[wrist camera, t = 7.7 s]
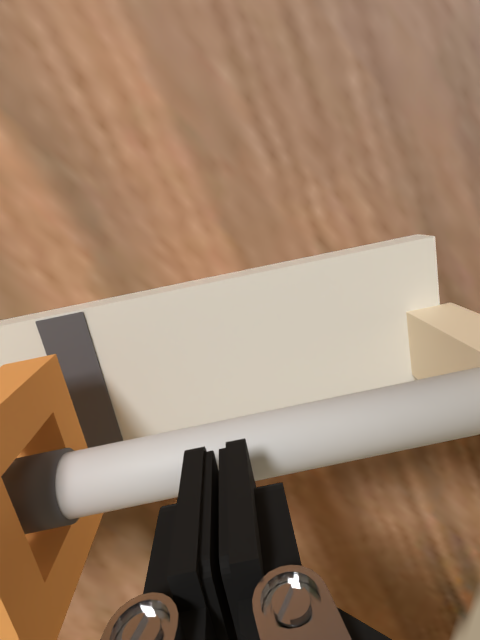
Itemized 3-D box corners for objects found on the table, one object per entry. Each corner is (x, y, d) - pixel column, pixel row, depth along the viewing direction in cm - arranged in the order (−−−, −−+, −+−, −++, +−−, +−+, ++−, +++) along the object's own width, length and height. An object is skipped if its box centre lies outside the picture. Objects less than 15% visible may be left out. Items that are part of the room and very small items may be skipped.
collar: (55, 353, 15) (-62, 460, 9) (106, 503, 17) (39, 684, 11) (3, 364, 15) (-154, 479, 9) (59, 513, 17) (-37, 700, 11)
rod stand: (428, 232, 19) (583, 248, 11) (441, 408, 21) (576, 527, 13) (-71, 335, 19) (-280, 427, 11) (-1, 500, 21) (-130, 674, 13)
